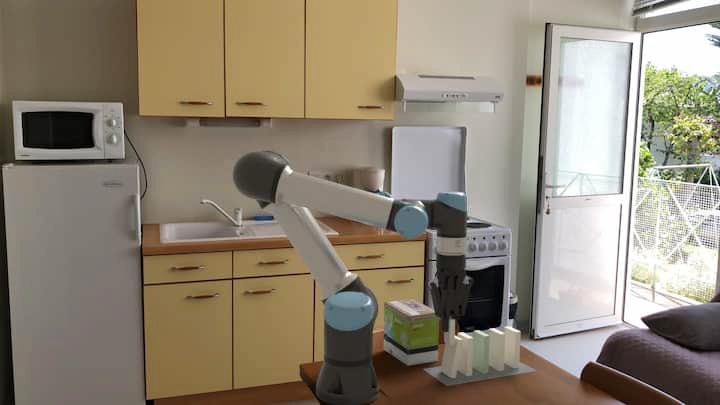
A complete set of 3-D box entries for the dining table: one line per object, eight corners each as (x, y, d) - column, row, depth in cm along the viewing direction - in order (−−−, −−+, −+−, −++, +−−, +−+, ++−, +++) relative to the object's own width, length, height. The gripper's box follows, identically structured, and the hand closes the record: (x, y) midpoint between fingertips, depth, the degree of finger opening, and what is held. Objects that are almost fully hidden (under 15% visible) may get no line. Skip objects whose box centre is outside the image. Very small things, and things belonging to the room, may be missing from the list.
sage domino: (483, 373, 156) (484, 336, 155) (472, 367, 161) (473, 330, 160) (488, 372, 157) (489, 335, 156) (477, 366, 161) (478, 330, 160)
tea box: (382, 350, 174) (383, 301, 173) (412, 346, 178) (413, 297, 177) (407, 368, 160) (408, 314, 159) (439, 363, 165) (440, 310, 163)
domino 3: (498, 371, 158) (500, 334, 157) (487, 364, 162) (489, 328, 162) (503, 370, 159) (505, 333, 158) (492, 363, 163) (494, 328, 162)
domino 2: (466, 376, 154) (468, 338, 153) (456, 369, 159) (457, 332, 158) (472, 375, 155) (473, 337, 154) (461, 368, 159) (462, 332, 158)
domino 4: (514, 368, 160) (515, 332, 159) (502, 362, 164) (504, 326, 163) (519, 367, 161) (520, 331, 160) (507, 361, 165) (509, 326, 164)
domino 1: (450, 377, 152) (458, 339, 152) (440, 370, 157) (447, 333, 156) (455, 378, 153) (463, 339, 152) (445, 371, 157) (452, 334, 157)
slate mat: (446, 388, 148) (446, 385, 148) (422, 371, 159) (422, 368, 158) (537, 373, 159) (537, 370, 159) (509, 357, 170) (509, 355, 170)
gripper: (436, 257, 145) (434, 351, 148) (481, 253, 150) (478, 344, 153) (421, 251, 152) (419, 341, 155) (464, 248, 157) (462, 336, 160)
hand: (449, 343), depth 154 cm, fingers closed
